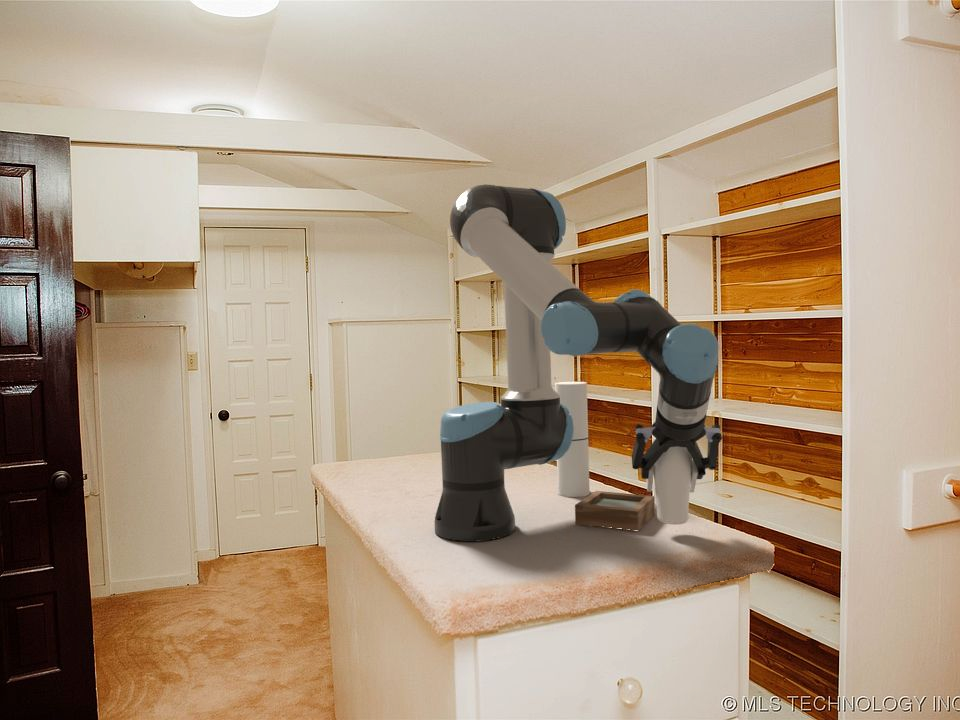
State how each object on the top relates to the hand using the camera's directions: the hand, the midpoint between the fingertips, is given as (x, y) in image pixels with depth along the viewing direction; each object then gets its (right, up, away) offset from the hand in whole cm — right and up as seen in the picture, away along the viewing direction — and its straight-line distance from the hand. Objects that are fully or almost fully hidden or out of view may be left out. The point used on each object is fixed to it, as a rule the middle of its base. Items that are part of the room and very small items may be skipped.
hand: (669, 485), depth 120 cm
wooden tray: (-8, -8, +8) cm, 14 cm away
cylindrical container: (-13, -7, +29) cm, 33 cm away
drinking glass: (0, -6, -3) cm, 7 cm away
